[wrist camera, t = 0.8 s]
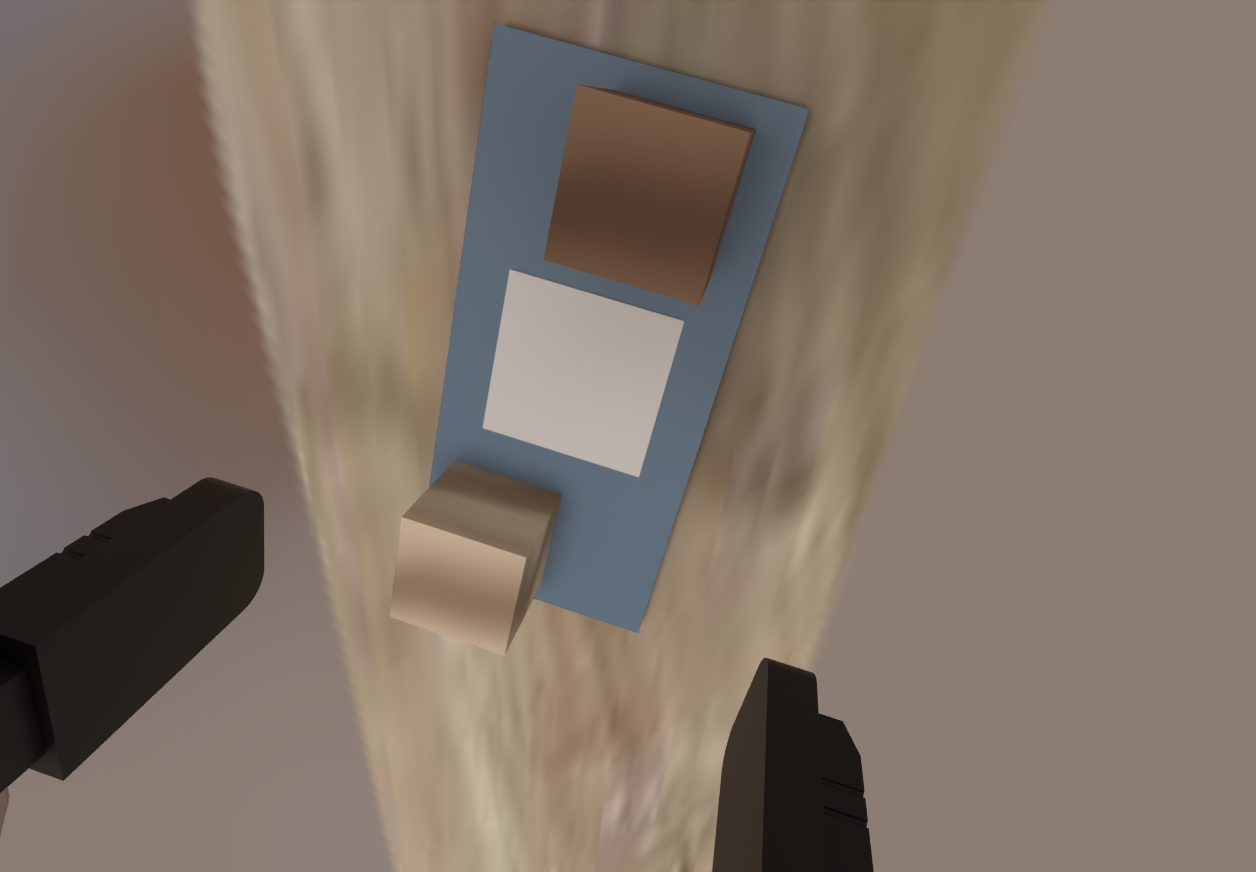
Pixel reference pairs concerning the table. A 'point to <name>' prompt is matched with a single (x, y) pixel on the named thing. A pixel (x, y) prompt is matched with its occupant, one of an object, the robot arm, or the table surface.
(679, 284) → the walnut block
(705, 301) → the board
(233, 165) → the table surface
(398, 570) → the maple block
